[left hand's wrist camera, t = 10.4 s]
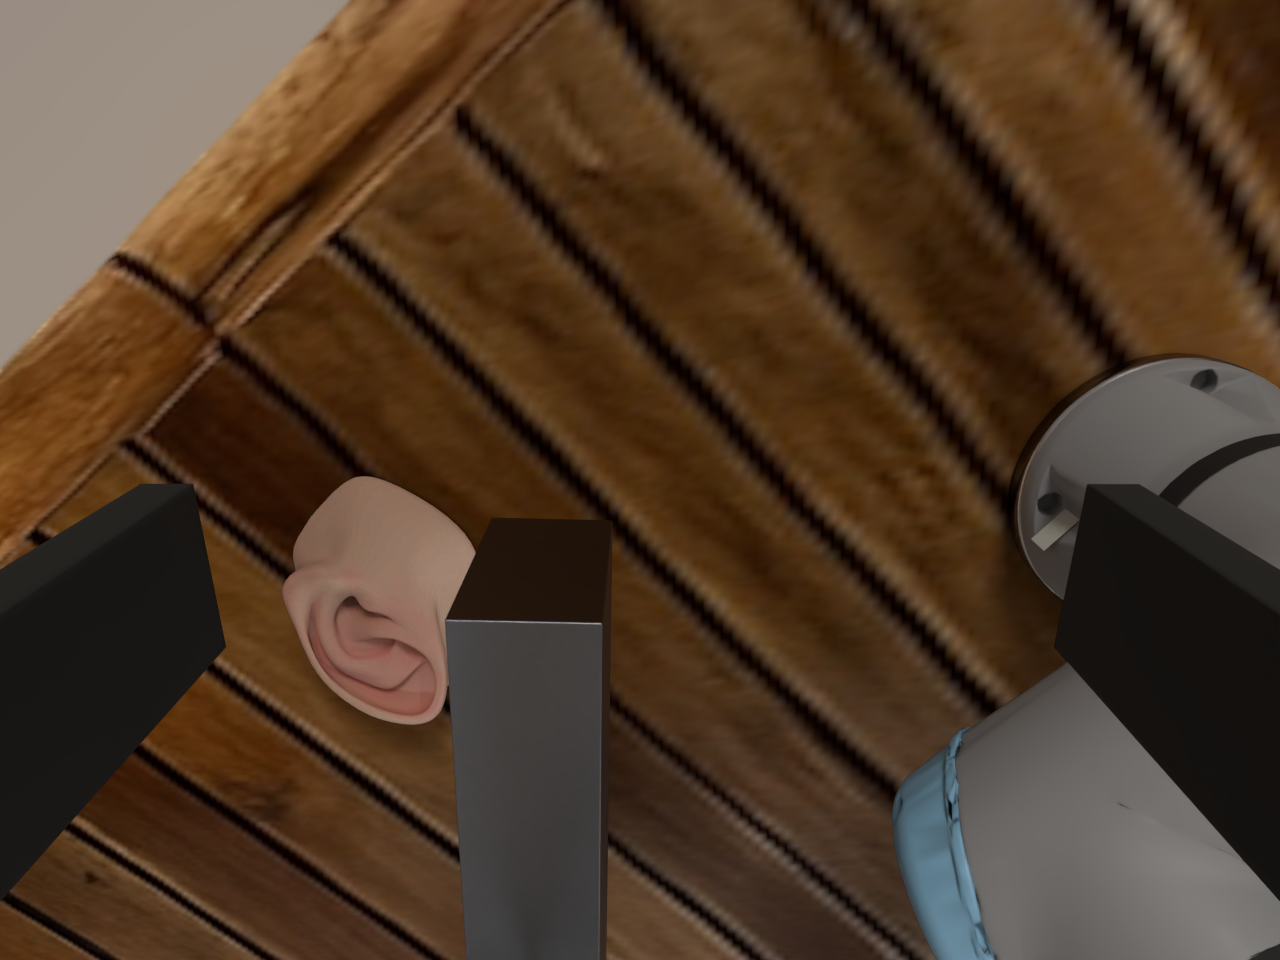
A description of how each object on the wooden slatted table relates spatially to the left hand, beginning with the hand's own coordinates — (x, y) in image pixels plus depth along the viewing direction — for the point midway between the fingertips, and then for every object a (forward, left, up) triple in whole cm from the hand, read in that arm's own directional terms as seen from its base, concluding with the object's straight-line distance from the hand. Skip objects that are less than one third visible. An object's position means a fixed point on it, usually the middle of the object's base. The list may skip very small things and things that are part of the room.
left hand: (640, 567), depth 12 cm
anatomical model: (-2, +23, -32) cm, 39 cm away
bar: (-12, +17, -17) cm, 27 cm away
